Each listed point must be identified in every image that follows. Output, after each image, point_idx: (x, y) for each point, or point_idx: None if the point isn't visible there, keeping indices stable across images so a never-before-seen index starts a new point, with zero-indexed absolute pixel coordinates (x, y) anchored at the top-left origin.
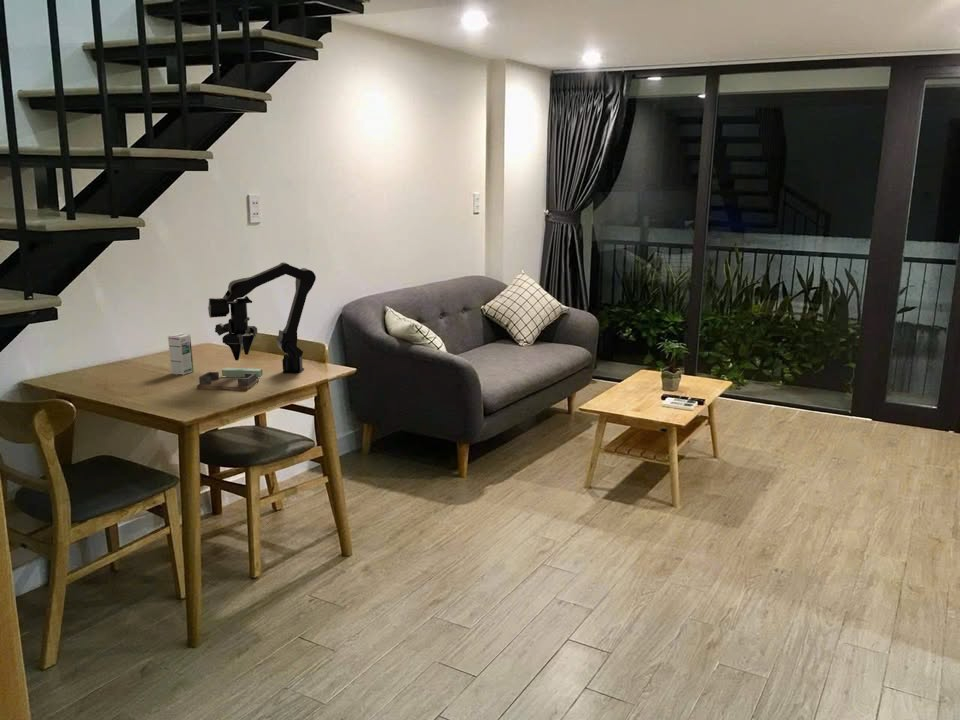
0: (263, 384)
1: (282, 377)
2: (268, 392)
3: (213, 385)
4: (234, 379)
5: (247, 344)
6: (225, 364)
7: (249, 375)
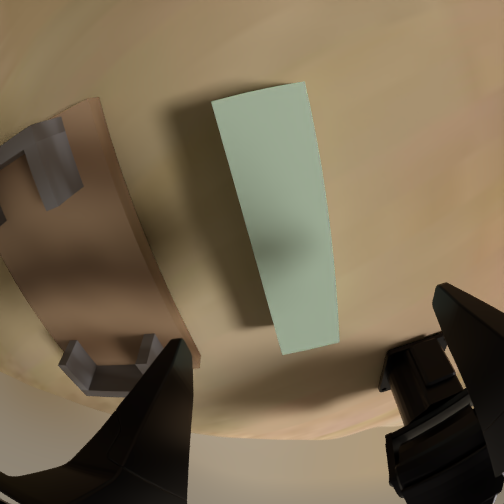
0: None
1: (314, 381)
2: None
3: (3, 250)
4: (125, 280)
5: (487, 382)
6: (494, 2)
7: None
